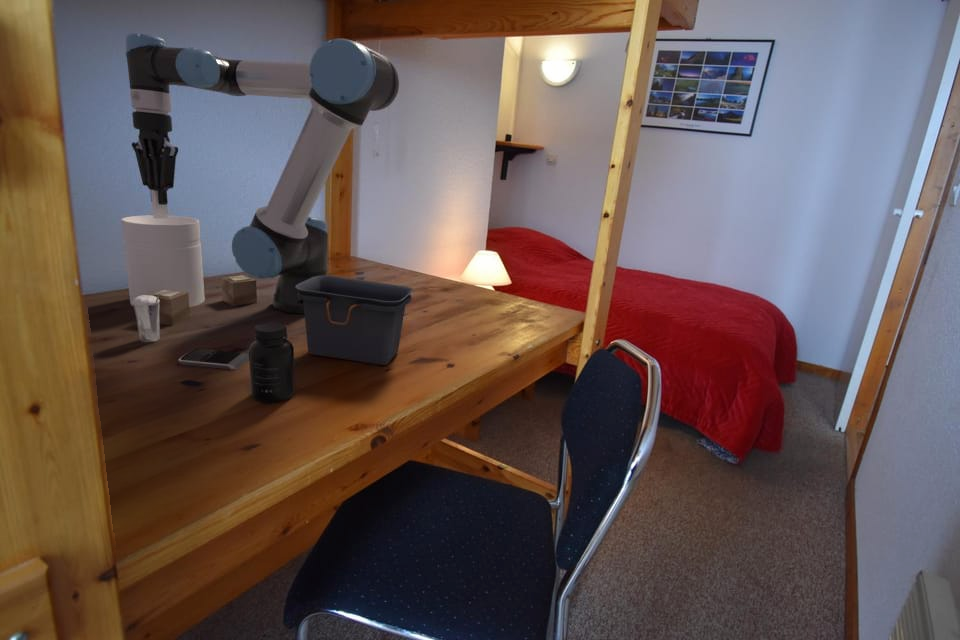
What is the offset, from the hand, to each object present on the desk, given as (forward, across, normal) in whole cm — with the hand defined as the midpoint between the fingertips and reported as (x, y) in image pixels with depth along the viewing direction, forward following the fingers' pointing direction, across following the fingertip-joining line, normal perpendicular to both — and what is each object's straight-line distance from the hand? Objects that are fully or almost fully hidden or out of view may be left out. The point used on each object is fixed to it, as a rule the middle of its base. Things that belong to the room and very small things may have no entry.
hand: (160, 218), depth 126 cm
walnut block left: (+20, +13, -9) cm, 26 cm away
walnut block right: (+20, +12, +11) cm, 26 cm away
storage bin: (+20, +58, -1) cm, 62 cm away
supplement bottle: (+20, +59, -23) cm, 67 cm away
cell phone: (+21, +40, -19) cm, 49 cm away
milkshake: (+21, +22, -19) cm, 36 cm away
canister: (+21, 0, 0) cm, 21 cm away
